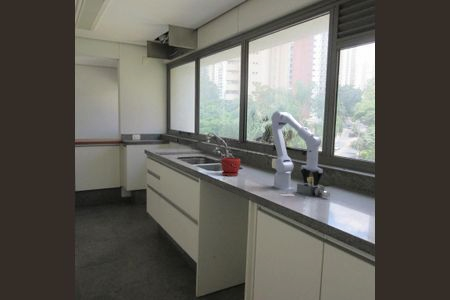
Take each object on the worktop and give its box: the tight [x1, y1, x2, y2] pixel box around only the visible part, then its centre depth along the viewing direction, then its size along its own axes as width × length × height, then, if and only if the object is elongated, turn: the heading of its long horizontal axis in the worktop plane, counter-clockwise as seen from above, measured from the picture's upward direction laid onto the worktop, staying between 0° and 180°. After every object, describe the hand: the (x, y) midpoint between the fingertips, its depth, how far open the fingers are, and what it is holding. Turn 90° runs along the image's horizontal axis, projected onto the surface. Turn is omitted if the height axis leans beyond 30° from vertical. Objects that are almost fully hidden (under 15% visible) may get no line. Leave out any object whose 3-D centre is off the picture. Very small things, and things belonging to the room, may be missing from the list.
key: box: [307, 176, 314, 186], centre depth 170 cm, size 3×3×7 cm
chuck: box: [296, 182, 331, 198], centre depth 167 cm, size 18×10×5 cm, turn 26°
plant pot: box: [221, 157, 241, 177], centre depth 222 cm, size 13×13×12 cm
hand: (310, 184), depth 170 cm, fingers open, 7 cm apart
